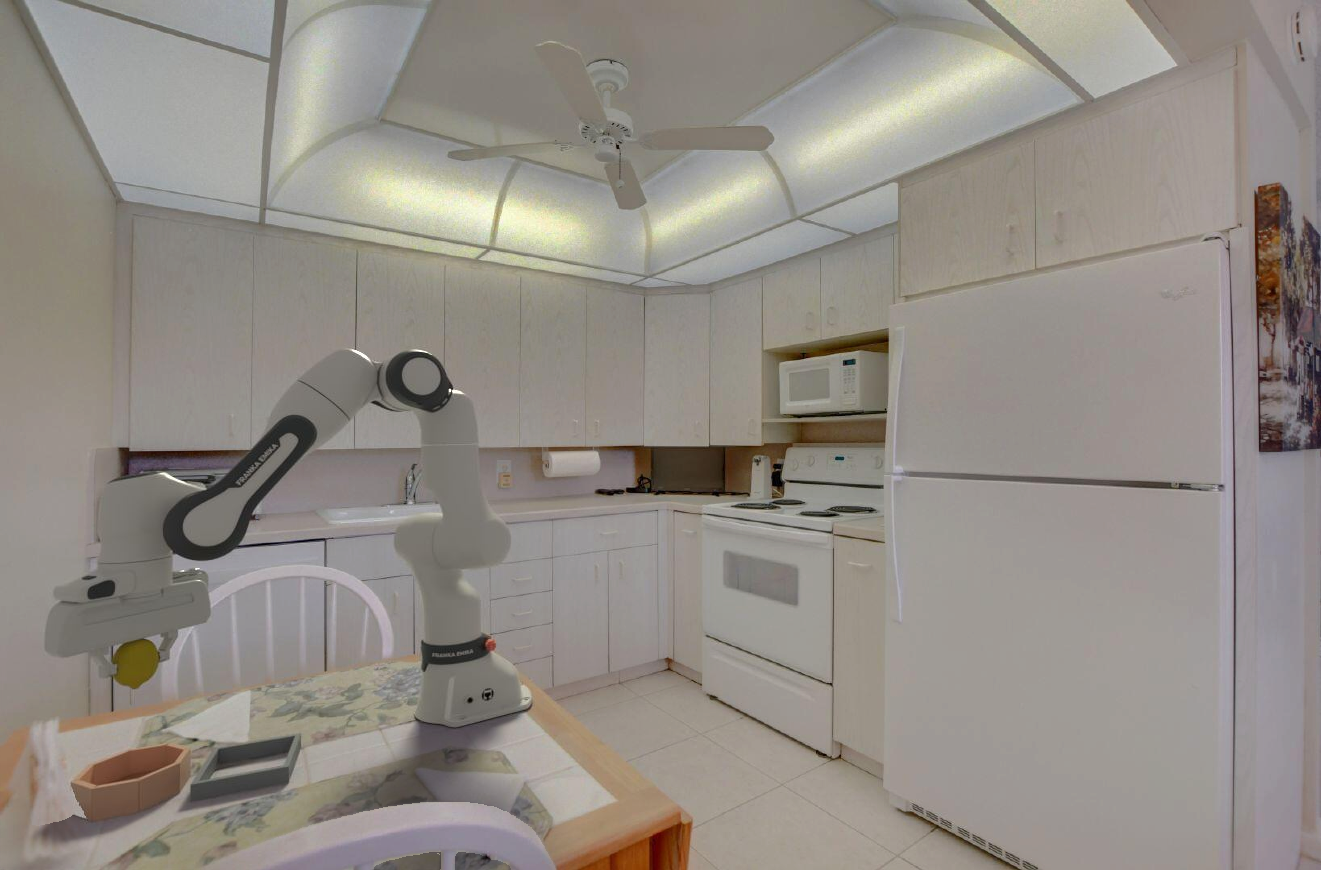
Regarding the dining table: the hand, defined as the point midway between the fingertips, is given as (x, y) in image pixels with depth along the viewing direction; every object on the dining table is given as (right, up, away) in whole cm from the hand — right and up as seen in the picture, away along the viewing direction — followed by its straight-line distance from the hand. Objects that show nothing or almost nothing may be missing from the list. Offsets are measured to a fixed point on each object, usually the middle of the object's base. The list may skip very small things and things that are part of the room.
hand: (135, 668), depth 93 cm
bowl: (0, -19, -1) cm, 19 cm away
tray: (+14, -19, +5) cm, 24 cm away
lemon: (0, -3, 0) cm, 3 cm away
